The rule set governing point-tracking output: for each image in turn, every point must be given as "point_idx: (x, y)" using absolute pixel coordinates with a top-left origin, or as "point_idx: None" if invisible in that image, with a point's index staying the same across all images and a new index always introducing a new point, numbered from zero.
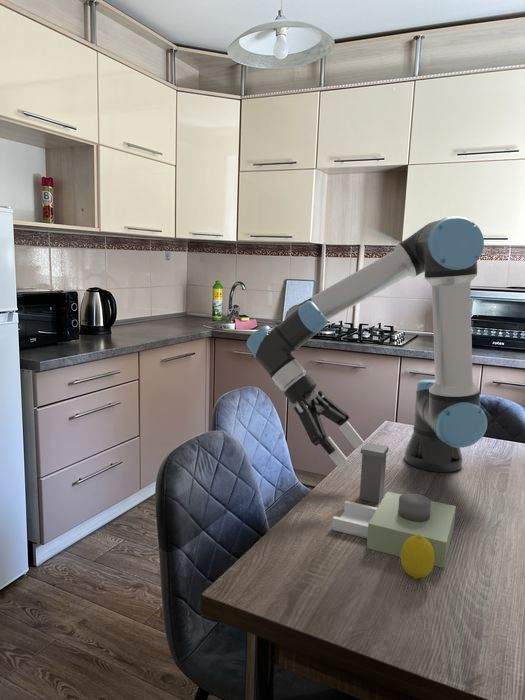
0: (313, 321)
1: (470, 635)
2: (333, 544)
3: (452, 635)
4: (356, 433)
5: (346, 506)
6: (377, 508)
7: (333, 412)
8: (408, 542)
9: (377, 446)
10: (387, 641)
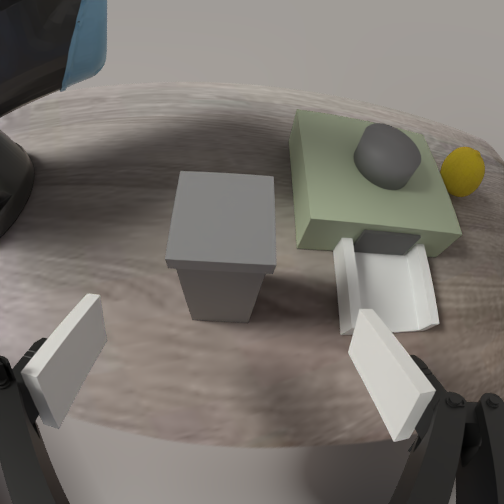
0: None
1: None
2: (457, 309)
3: None
4: (74, 322)
5: None
6: (407, 227)
7: (49, 484)
8: (483, 169)
9: (200, 206)
10: None
